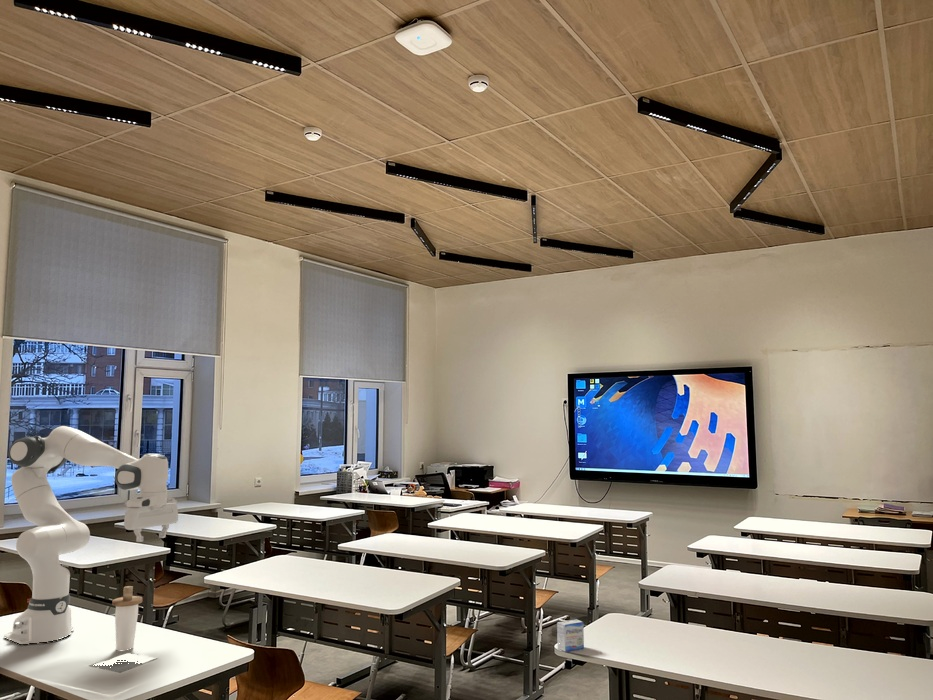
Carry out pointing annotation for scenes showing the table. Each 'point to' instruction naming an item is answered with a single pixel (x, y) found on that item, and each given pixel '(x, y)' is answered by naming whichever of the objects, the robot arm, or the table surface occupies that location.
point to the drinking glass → (125, 626)
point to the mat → (118, 666)
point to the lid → (127, 598)
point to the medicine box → (570, 635)
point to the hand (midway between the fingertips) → (151, 539)
